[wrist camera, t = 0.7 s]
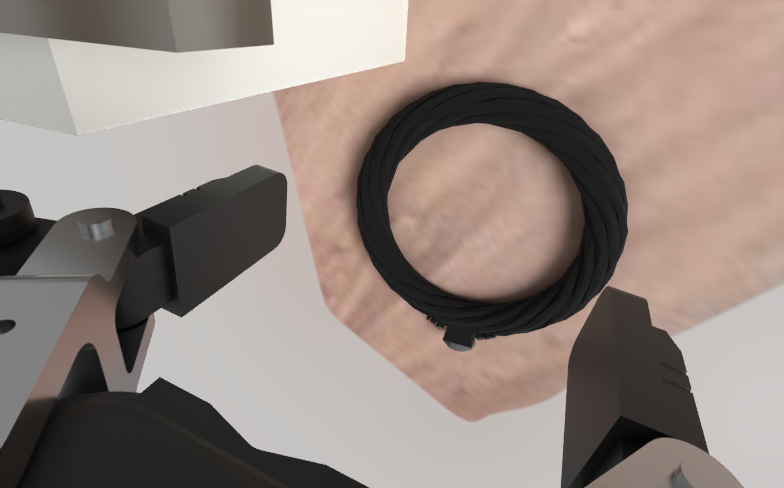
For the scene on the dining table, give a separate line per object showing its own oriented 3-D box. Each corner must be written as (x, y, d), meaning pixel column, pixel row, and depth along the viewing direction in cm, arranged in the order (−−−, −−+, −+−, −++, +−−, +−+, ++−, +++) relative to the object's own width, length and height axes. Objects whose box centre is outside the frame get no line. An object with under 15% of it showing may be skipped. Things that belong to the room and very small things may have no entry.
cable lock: (680, 102, 31) (579, 390, 46) (671, 95, 34) (579, 366, 49) (347, 72, 40) (350, 321, 54) (364, 68, 43) (363, 305, 58)
